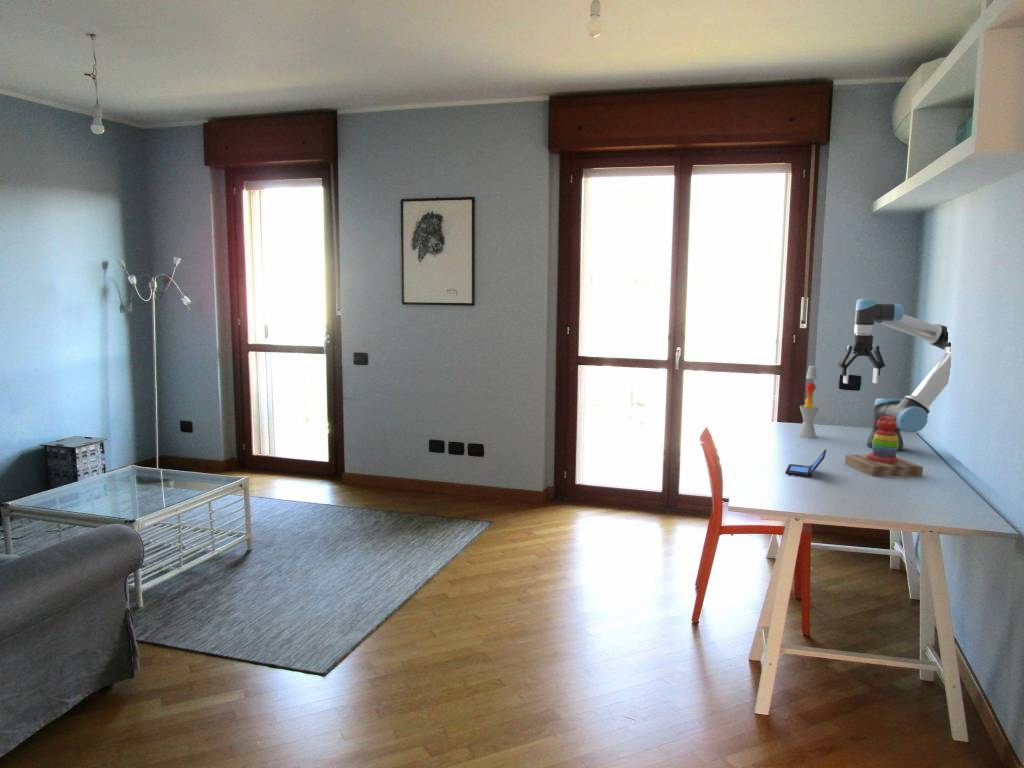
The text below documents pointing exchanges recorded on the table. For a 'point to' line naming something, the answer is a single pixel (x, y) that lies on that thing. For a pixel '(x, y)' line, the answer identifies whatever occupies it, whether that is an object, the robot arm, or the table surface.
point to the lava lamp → (809, 407)
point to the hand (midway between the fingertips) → (860, 383)
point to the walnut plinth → (884, 466)
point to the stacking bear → (885, 441)
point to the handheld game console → (804, 467)
